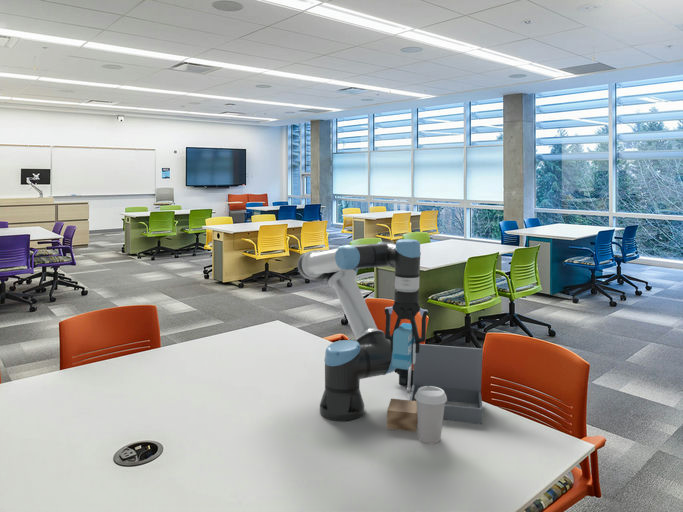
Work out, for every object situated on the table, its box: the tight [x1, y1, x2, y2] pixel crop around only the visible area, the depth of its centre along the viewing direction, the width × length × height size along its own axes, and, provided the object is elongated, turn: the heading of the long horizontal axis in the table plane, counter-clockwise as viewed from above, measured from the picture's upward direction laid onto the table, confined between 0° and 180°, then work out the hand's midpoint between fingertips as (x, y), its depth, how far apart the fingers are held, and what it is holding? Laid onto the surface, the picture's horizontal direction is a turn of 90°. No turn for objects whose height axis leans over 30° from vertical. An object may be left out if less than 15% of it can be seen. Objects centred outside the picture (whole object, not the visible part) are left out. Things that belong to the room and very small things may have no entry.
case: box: [406, 343, 484, 425], centre depth 171 cm, size 25×16×20 cm, turn 77°
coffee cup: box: [414, 386, 448, 445], centre depth 152 cm, size 10×10×15 cm
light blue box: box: [392, 322, 415, 370], centre depth 159 cm, size 12×4×12 cm, turn 157°
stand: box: [386, 398, 418, 433], centre depth 162 cm, size 9×9×6 cm
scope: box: [394, 368, 413, 387], centre depth 194 cm, size 8×14×10 cm
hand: (404, 361), depth 160 cm, fingers closed on light blue box, 5 cm apart
